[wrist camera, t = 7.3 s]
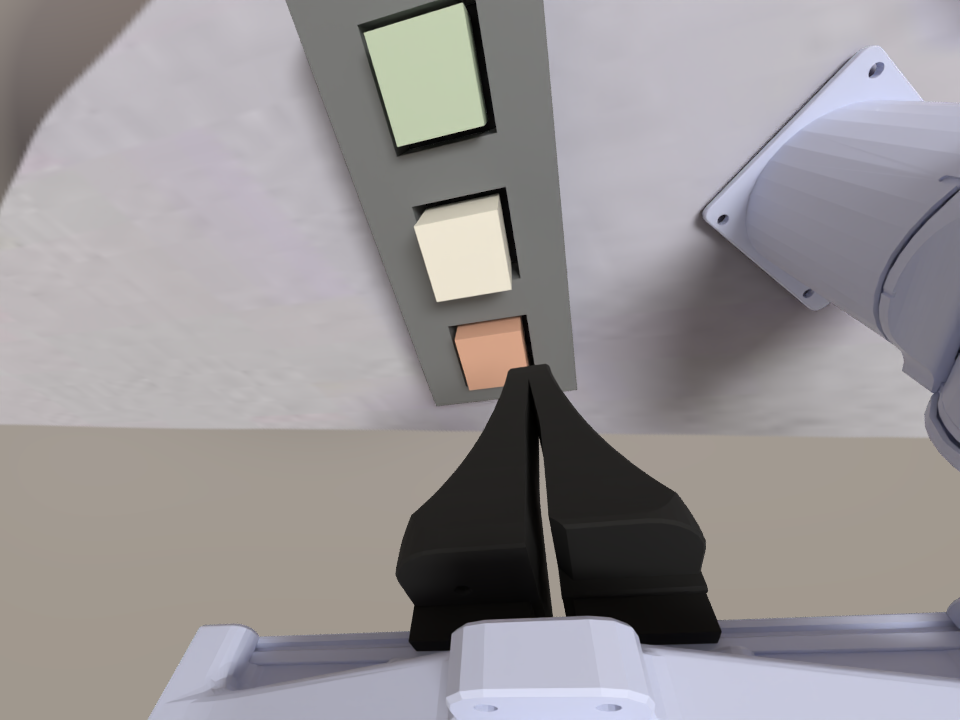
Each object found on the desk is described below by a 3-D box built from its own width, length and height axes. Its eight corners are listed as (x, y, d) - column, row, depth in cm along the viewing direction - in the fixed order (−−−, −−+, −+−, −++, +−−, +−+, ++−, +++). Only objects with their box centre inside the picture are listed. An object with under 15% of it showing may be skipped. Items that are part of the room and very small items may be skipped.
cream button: (511, 265, 20) (511, 289, 18) (445, 276, 21) (436, 302, 18) (499, 192, 18) (497, 209, 16) (426, 208, 19) (413, 226, 16)
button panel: (571, 365, 25) (577, 389, 23) (442, 382, 27) (436, 406, 25) (532, -64, 14) (535, -89, 12) (313, 8, 16) (284, -4, 14)
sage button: (488, 120, 17) (484, 125, 15) (412, 138, 18) (397, 146, 15) (470, 16, 15) (462, 2, 13) (386, 41, 16) (363, 32, 13)
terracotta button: (528, 353, 24) (529, 383, 22) (473, 361, 25) (469, 390, 23) (519, 304, 22) (520, 330, 20) (460, 313, 23) (454, 340, 21)
